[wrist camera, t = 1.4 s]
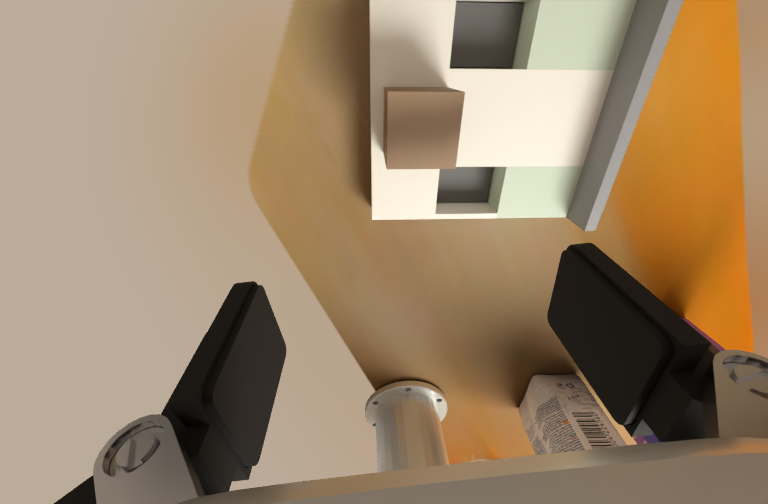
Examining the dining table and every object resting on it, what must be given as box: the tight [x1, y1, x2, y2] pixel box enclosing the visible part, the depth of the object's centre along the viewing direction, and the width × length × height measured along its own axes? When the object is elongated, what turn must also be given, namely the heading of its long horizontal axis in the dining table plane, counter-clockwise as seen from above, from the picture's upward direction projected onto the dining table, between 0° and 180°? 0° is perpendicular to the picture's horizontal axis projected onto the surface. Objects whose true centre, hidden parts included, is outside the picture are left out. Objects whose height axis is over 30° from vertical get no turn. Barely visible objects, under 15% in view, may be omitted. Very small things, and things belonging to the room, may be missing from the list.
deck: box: [369, 0, 684, 231], centre depth 26 cm, size 20×18×6 cm
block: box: [383, 87, 465, 169], centre depth 24 cm, size 5×5×5 cm
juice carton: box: [519, 374, 627, 455], centre depth 39 cm, size 9×10×27 cm
